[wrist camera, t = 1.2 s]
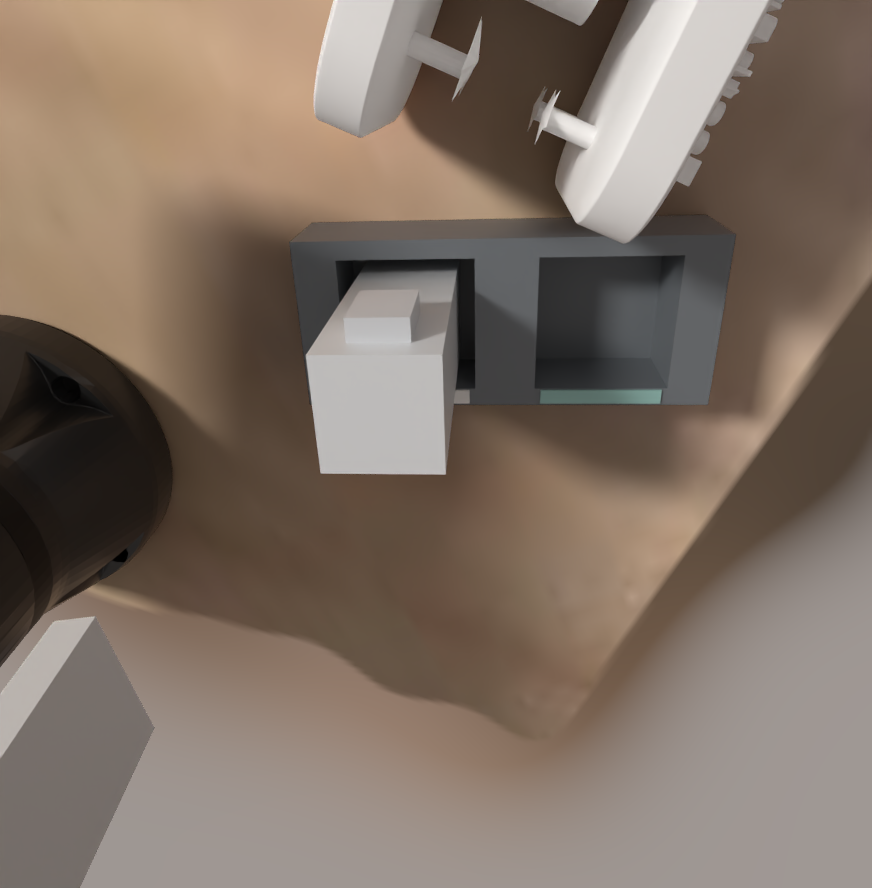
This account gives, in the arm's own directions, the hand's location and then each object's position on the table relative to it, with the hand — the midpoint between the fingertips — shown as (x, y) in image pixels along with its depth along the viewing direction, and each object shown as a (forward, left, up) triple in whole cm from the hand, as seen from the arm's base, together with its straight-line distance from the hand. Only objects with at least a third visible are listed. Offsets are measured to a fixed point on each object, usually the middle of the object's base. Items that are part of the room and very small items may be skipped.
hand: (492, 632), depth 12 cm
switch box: (+1, -1, -23) cm, 23 cm away
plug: (-3, -1, -22) cm, 22 cm away
